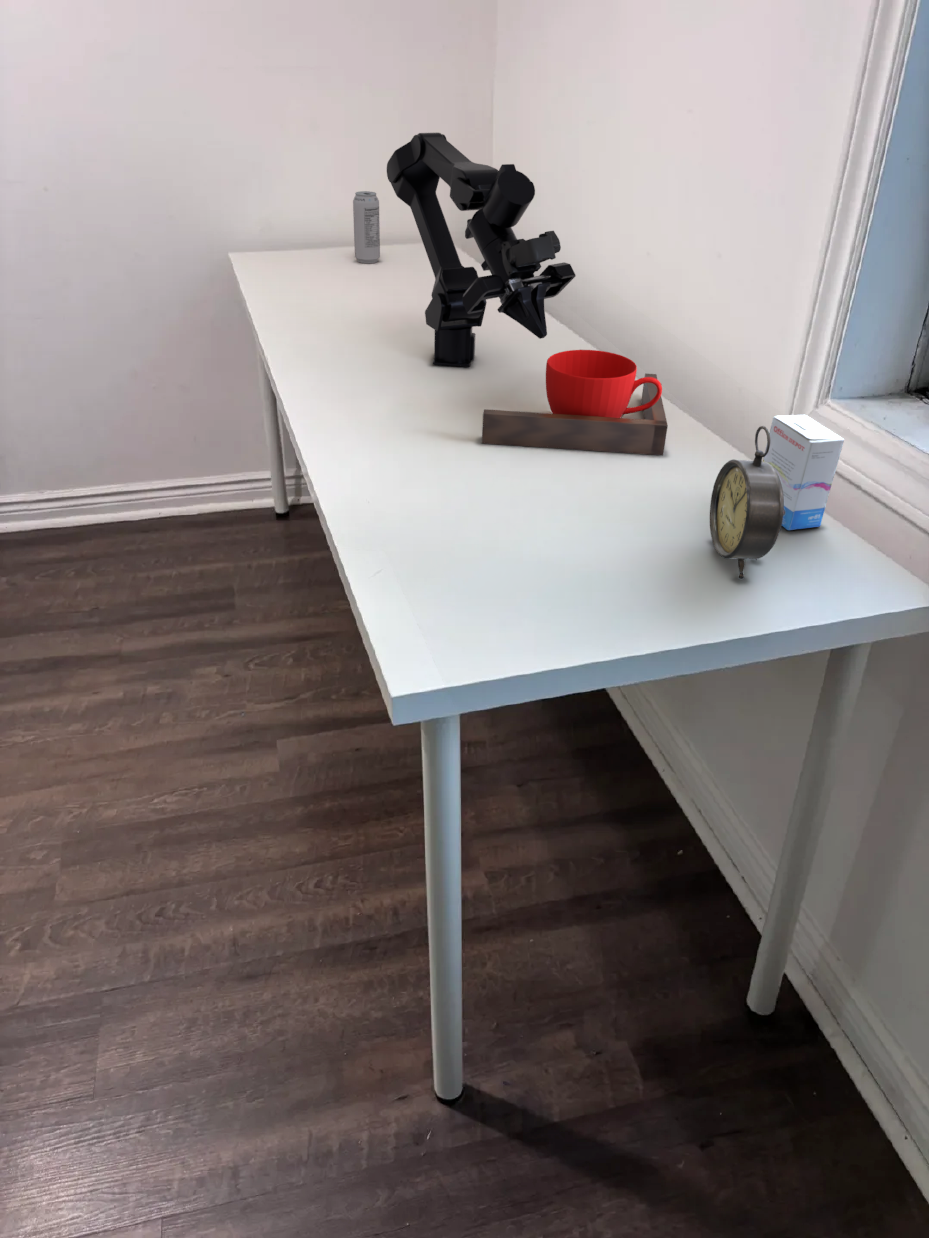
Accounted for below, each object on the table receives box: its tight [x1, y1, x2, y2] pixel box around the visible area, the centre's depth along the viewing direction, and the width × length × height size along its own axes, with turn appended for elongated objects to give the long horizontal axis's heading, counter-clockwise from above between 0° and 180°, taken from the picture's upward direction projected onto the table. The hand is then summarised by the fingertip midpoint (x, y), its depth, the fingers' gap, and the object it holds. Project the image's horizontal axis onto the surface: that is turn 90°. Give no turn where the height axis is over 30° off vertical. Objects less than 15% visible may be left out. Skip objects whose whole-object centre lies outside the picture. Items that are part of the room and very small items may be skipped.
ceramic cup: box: [545, 349, 663, 418], centre depth 138 cm, size 13×17×10 cm
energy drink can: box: [352, 190, 381, 264], centre depth 222 cm, size 6×6×15 cm
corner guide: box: [481, 372, 668, 456], centre depth 143 cm, size 26×22×4 cm
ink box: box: [762, 414, 845, 531], centre depth 116 cm, size 9×5×12 cm, turn 17°
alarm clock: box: [709, 425, 784, 580], centre depth 105 cm, size 11×5×16 cm, turn 5°
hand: (543, 337), depth 143 cm, fingers closed
